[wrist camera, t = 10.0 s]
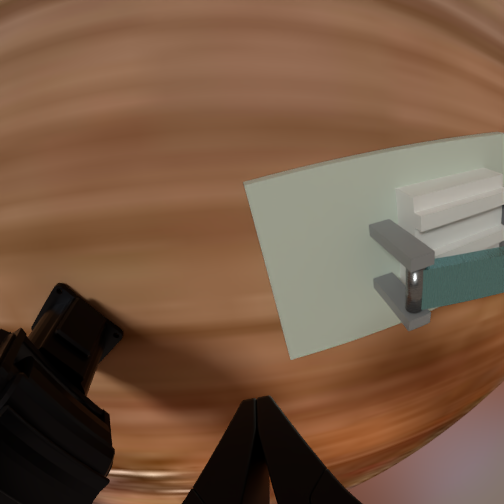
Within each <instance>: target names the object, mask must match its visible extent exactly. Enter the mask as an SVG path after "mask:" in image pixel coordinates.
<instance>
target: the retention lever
mask: <svg viewBox="0 0 504 504" xmlns="http://www.w3.org/2000/svg"><path fill="white" fill-rule="evenodd" d="M503 292H504V246H502V247H497V248H492V249H486V250H481V251H475V252H470V253H464V254H459V255H453V256H448V257H442V258H436V259H435V261H434V265H431V266H428V267H426V268H423V269H420V270H417V271H415V272H412V273H411V272H410V271H409V270H408V269H407V268H406V289H405V309H406V311H407V312H409V313H413V314H416V313H419V312H421V311H422V310H425V309H430V308H435V307H440V306H445V305H450V304H455V303H460V302H465V301H469V300H474V299H478V298H483V297H487V296H491V295H495V294H499V293H503Z"/></svg>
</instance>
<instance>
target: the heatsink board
mask: <svg viewBox="0 0 504 504" xmlns="http://www.w3.org/2000/svg"><path fill="white" fill-rule="evenodd" d="M243 184H244V187H245V191H246V195H247V198H248V202H249V206H250V209H251V213H252V217H253V220H254V224H255V228H256V231H257V235H258V239H259V243H260V246H261V250H262V254H263V257H264V261H265V265H266V269H267V272H268V276H269V280H270V284H271V287H272V291H273V295H274V299H275V303H276V306H277V310H278V314H279V318H280V322H281V325H282V329H283V333H284V337H285V341H286V344H287V348H288V352H289V355H290V359H291V360H292V359H295V358H299V357H302V356H306V355H309V354H312V353H316V352H319V351H322V350H325V349H329V348H332V347H335V346H338V345H341V344H344V343H347V342H350V341H353V340H356V339H359V338H362V337H364V336H367V335H370V334H373V333H376V332H378V331H381V330H384V329H386V328H389V327H392V326H394V325H397V324H399V323H403V325H404V326H405V327H406V329H407V330H408V331H411V330H413V329H416V328H418V327H421V326H423V325H425V324H428V323H430V317H431V312H430V311H431V310H433V309H436V308H438V307H435V308H430V309H425V310H422V311H421V312H419V313H416V314H413V313H409V312H407V311H406V309H405V289H406V268H407V269H408V270H409V271H410V272H411V273H412V272H415V271H417V270H420V269H423V268H426V267H428V266H431V265H434V261H435V259H436V258H442V257H448V256H453V255H459V254H464V253H470V252H475V251H481V250H486V249H492V248H497V247H502V246H504V133H501V132H492V133H484V134H476V135H468V136H461V137H454V138H447V139H440V140H434V141H428V142H422V143H416V144H410V145H404V146H399V147H393V148H388V149H383V150H377V151H372V152H367V153H362V154H358V155H353V156H348V157H344V158H339V159H334V160H330V161H325V162H321V163H317V164H312V165H308V166H304V167H300V168H296V169H292V170H288V171H284V172H280V173H276V174H272V175H268V176H264V177H260V178H257V179H253V180H249V181H246V182H243Z"/></svg>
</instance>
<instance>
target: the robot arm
mask: <svg viewBox="0 0 504 504" xmlns="http://www.w3.org/2000/svg"><path fill="white" fill-rule="evenodd" d="M59 289H61V290H62V292H61V291H60V290H59ZM31 329H32V332H31V333H30V335H29V336H28V337H27V336H26V333H25V332H24V331H23V329H22V328H20V329H18V330H17V331H15V332H13V333H11V332H7V331H5V330H3V329H0V504H92V503H93V501H94V499H95V498H96V496H97V495H98V494H99V492H100V491H101V490H102V489H103V488H104V487H106V486H107V485H108V484H109V482H110V480H109V479H108V478H106V477H107V475H108V474H109V472H110V470H111V467H112V464H113V459H114V455H115V449H114V448H113V447H112V438H111V428H110V415H109V414H108V413H107V412H106V411H105V410H102V409H101V408H99V407H98V406H97V405H96V404H95V403H93V402H92V401H91V400H90V399H89V398H88V397H87V394H88V391H89V388H90V385H91V382H92V380H93V377H94V374H95V371H96V369H97V366H98V364H99V363H100V362H101V361H102V360H103V359H104V357H105V356H106V355H107V354H108V353H109V352H110V351H111V350H112V349H113V348H114V347H115V346H116V344H117V343H118V342H119V341H120V340H121V339H122V337H123V331H122V330H121V329H120V328H119V327H117V326H116V325H115V324H113V323H112V322H111V321H109V320H108V319H107V318H105V317H104V316H103V315H101V314H100V313H99V312H97V311H96V310H95V309H93V308H92V307H91V306H90V305H88V304H87V303H86V302H85V301H83V300H82V299H81V298H80V297H78V296H77V295H76V294H75V293H73V292H72V291H71V290H70V289H69V288H67V287H66V286H65V285H64V284H62V283H58V284H56V286H55V287H54V288H53V290H52V292H51V294H50V295H49V297H48V299H47V300H46V302H45V304H44V306H43V307H42V309H41V311H40V313H39V314H38V316H37V318H36V320H35V322H34V324H33V325H32V328H31ZM115 333H117V334H119V335H117V334H115ZM269 475H270V479H271V482H272V486H273V490H274V493H275V497H276V500H277V504H362V503H361V502H360V501H359V500H357V499H356V498H355V497H354V496H353V495H352V494H351V493H350V492H349V491H348V490H346V488H345V487H344V486H343V485H342V484H341V483H340V482H339V481H338V480H337V479H336V478H335V477H334V475H333V474H332V473H331V472H330V471H329V469H327V467H326V466H325V465H324V464H323V463H322V461H321V460H320V459H319V458H318V456H317V455H316V454H315V453H314V452H313V450H312V449H311V448H310V447H309V445H308V444H307V443H306V442H305V440H304V439H303V438H302V436H301V435H300V434H299V433H298V431H297V430H296V429H295V427H294V426H293V425H292V424H291V422H290V421H289V420H288V418H287V417H286V416H285V414H284V413H283V412H282V410H281V409H280V408H279V407H278V405H277V404H276V402H275V401H274V400H273V398H272V397H271V396H269V395H268V396H263V397H258V398H257V400H256V399H255V398H252V399H247V400H243V401H242V402H241V404H240V406H239V408H238V410H237V412H236V413H235V415H234V417H233V419H232V421H231V422H230V424H229V426H228V428H227V430H226V431H225V433H224V435H223V437H222V438H221V440H220V442H219V444H218V445H217V447H216V449H215V451H214V452H213V454H212V456H211V458H210V459H209V461H208V463H207V464H206V466H205V468H204V469H203V471H202V473H201V474H200V476H199V478H198V479H197V481H196V483H195V484H194V486H193V488H194V489H191V490H190V492H189V494H188V495H187V497H186V498H185V500H184V501H183V503H182V504H270V491H269Z"/></svg>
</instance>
